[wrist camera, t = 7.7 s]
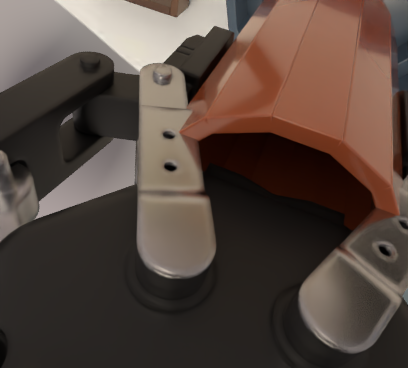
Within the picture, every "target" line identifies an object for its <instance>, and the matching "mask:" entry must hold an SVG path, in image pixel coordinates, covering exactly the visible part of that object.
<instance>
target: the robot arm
mask: <svg viewBox="0 0 408 368" xmlns="http://www.w3.org/2000/svg"><path fill="white" fill-rule="evenodd" d="M233 40H234V32H231V31H228V30H225V29H222V28H220V27H217V26H214V27H213V28H212V30H211V31H210V32H209V33H208V34H207V35H206V37H202V36H200V35H195V36H192V37H189V38H187V39H186V40H185V41H184V42H183V43H182V44H181V46H179V47H178V48H177V49H176V51H174V52H173V53H172V55H171V56H170V57H169V58H168V59H167V60H166V61H165V62H164V63H153V64H148V65H146V66H144V67H143V68H142V69H141V70H140V75H132V74H125V73H118V72H114V63H113V61H112V60H111V59H110V58H109V57H108V56H105V55H103V54H101V53H96V52H79V53H76V54H73V55H71V56H69V57H67V58H65V59H63V60H62V61H60V62H58V63H56V64H54V65H52V66H50V67H48V68H46V69H45V70H43V71H41V72H39V73H37V74H35V75H33V76H31V77H29V78H28V79H26V80H24V81H22V82H20V83H18V84H16V85H14V86H12V87H11V88H9V89H7V90H5V91H3V92H1V93H0V368H408V305H407V303H406V302H405V300H404V298H403V297H402V295H403V294H404V292H405V290H406V289H407V288H408V91H405V90H402V91H400V92H399V106H400V130H401V154H402V178H403V188H402V187H400V188H399V191H400V215H395V214H393V213H390V212H387V211H385V210H382V209H379V208H377V207H375V208H374V209H373V211H372V212H371V213H370V214H369V215H368V216H367V217H366V218H365V219H364V220H363V221H362V222H361V223H360V224H359V225H358V226H357V227H356V228H355V229H354V230H353V231H352V230H350V229H349V228H348V227H346V226H344V217H345V214H343V213H341V212H338V211H335V210H333V209H330V208H328V207H325V206H322V205H320V204H317V203H315V202H312V201H308V200H302V199H297V198H292V197H286V196H281V195H276V194H273V193H271V192H269V191H268V190H266V189H265V188H263V187H261V186H260V185H258V184H256V183H255V182H253V181H251V180H250V179H248V178H246V177H245V176H243V175H241V174H239V173H236V172H233V171H231V170H228V169H226V168H223V167H220V166H218V165H215V164H213V163H209V165H208V167H207V169H206V171H202V165H201V158H200V150H199V143H198V140H196V139H194V138H191V137H188V136H186V135H183V134H181V133H179V131H180V129H181V128H182V126H183V125H184V123H185V122H186V120H187V119H188V117H189V116H190V115H191V113H192V111H193V110H192V109H186V107H187V106H188V105H189V103H190V102H191V100H192V99H193V98H194V96H195V95H196V93H197V92H198V91H199V89H200V88H201V86H202V85H203V84H204V82H205V81H206V80H207V78H208V77H209V75H210V74H211V73H212V71H213V70H214V68H215V67H216V66H217V64H218V63H219V61H220V60H221V59H222V57H223V56H224V54H225V53H226V52H227V50H228V49H229V47H230V46H231V45H232V43H233ZM71 113H73V118H71V119H70V120H68V121H67V122H65V123H64V124H63V125H61V123H62V121H63V120H64V118H65V117H67V116H68V115H69V114H71ZM60 125H61V126H60ZM113 138H119V139H127V140H135V141H136V159H135V185H132V186H129V187H126V188H124V189H121V190H118V191H115V192H112V193H109V194H106V195H103V196H101V197H98V198H95V199H92V200H89V201H87V202H84V203H81V204H78V205H75V206H72V207H69V208H66V209H64V210H61V211H58V212H55V213H52V214H49V215H46V216H43V217H41V218H38V219H35V218H36V216H37V214H38V212H39V201H40V200H41V199H42V198H44V197H45V196H46V195H47V194H48V193H50V192H51V191H52V190H53V189H54V188H56V187H57V186H58V185H59V184H60V183H62V182H63V181H64V180H65V179H66V178H68V177H69V176H70V175H71V174H72V173H74V172H75V171H76V170H77V169H78V168H80V167H81V166H82V165H83V164H84V163H86V162H87V161H88V160H89V159H91V158H92V157H93V156H94V155H95V154H96V153H98V152H99V151H100V150H101V149H103V148H104V147H105V146H106V145H107V144H108V143H110V142H111V141H112V140H113ZM34 219H35V220H34Z"/></svg>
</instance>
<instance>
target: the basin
mask: <svg viewBox="0 0 408 368" xmlns="http://www.w3.org/2000/svg"><path fill="white" fill-rule="evenodd" d="M263 1H265V0H226V4H227V16H228V28H229V31H231V32H234V40H233V42H234V41H235V39H236V38H237V36H238V35H239V34H240V32H241V31H242V29H243V28H244V27H245V25H246V24H247V22H248V21H249V20H250V18H251V17H252V15H253V14H254V13H255V11H256V10H257V8H258V7H259V6H260V4H261V3H262V2H263ZM383 1H384V3H385V4H386V6H387V7H388V10H389V12H390V14H391V16H392V20H393V24H394V31H395V39H396V44H397V58H398V82H399V92H400V91H402V90H405V91H408V0H383Z"/></svg>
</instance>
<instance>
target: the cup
mask: <svg viewBox="0 0 408 368" xmlns="http://www.w3.org/2000/svg"><path fill="white" fill-rule="evenodd" d="M186 109H192V110H193V111H192V113H191V115H190V116H189V117H188V119H187V120H186V122H185V123H184V125H183V126H182V128H181V129H180V131H179V133H181V134H183V135H186V136H188V137H191V138H194V139H196V140H198V143H199V150H200V158H201V165H202V171H206V169H207V167H208V165H209V163H213V164H215V165H218V166H220V167H223V168H226V169H228V170H231V171H233V172H236V173H239V174H241V175H243V176H245V177H246V178H248V179H250V180H251V181H253V182H255V183H256V184H258V185H260V186H261V187H263V188H265V189H266V190H268V191H269V192H271V193H273V194H276V195H281V196H286V197H292V198H297V199H302V200H308V201H312V202H315V203H317V204H320V205H322V206H325V207H328V208H330V209H333V210H335V211H338V212H341V213H343V214H345V217H344V226H346V227H348V228H349V229H350V230H352V231H353V230H354V229H355V228H356V227H357V226H358V225H359V224H360V223H361V222H362V221H363V220H364V219H365V218H366V217H367V216H368V215H369V214H370V213H371V212H372V211H373V209H374V208H375V207H377V208H379V209H382V210H385V211H387V212H390V213H393V214H395V215H400V191H399V188H400V187H402V188H403V178H402V154H401V130H400V106H399V82H398V58H397V44H396V39H395V31H394V24H393V20H392V16H391V14H390V12H389V10H388V7H387V6H386V4H385V3H384V1H383V0H265V1H263V2H262V3H261V4H260V6H259V7H258V8H257V10H256V11H255V13H254V14H253V15H252V17H251V18H250V20H249V21H248V22H247V24H246V25H245V27H244V28H243V29H242V31H241V32H240V34H239V35H238V36H237V38H236V39H235V41H234V42H233V43H232V45H231V46H230V47H229V49H228V50H227V52H226V53H225V54H224V56H223V57H222V59H221V60H220V61H219V63H218V64H217V66H216V67H215V68H214V70H213V71H212V73H211V74H210V75H209V77H208V78H207V80H206V81H205V82H204V84H203V85H202V86H201V88H200V89H199V91H198V92H197V93H196V95H195V96H194V98H193V99H192V100H191V102H190V103H189V105H188V106H187V107H186Z"/></svg>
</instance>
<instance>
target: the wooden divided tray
mask: <svg viewBox="0 0 408 368" xmlns="http://www.w3.org/2000/svg"><path fill="white" fill-rule="evenodd" d="M125 1H128V2H131V3H134V4H137V5H140V6H143V7H146V8H149V9H152V10H155V11H158V12H161V13H164V14H167V15H171V16H174V17H178V16H179V15H180V14H181V13H182V12H183V11H184V10H185V9H187V8H188V6H189V0H125Z"/></svg>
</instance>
